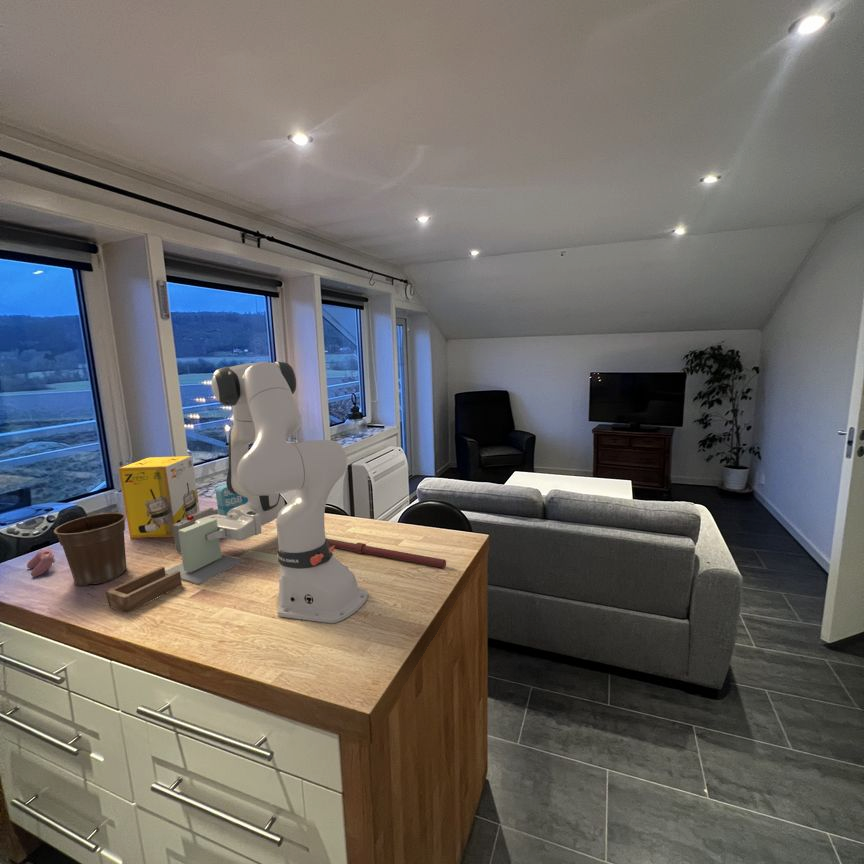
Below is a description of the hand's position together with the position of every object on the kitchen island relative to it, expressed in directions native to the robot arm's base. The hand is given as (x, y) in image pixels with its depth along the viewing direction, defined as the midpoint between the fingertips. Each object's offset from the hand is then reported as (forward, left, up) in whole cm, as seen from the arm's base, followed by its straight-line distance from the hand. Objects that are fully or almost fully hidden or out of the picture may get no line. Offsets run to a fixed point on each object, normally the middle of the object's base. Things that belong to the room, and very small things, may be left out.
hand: (201, 536), depth 130 cm
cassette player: (+18, -11, -9) cm, 23 cm away
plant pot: (+24, +16, -9) cm, 30 cm away
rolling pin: (-43, -25, -10) cm, 51 cm away
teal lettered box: (+30, -36, -9) cm, 48 cm away
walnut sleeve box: (0, +17, -9) cm, 19 cm away
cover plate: (0, +1, -8) cm, 8 cm away
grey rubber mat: (0, +1, -9) cm, 9 cm away
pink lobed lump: (+45, +20, -9) cm, 51 cm away
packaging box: (+41, -15, -9) cm, 45 cm away
